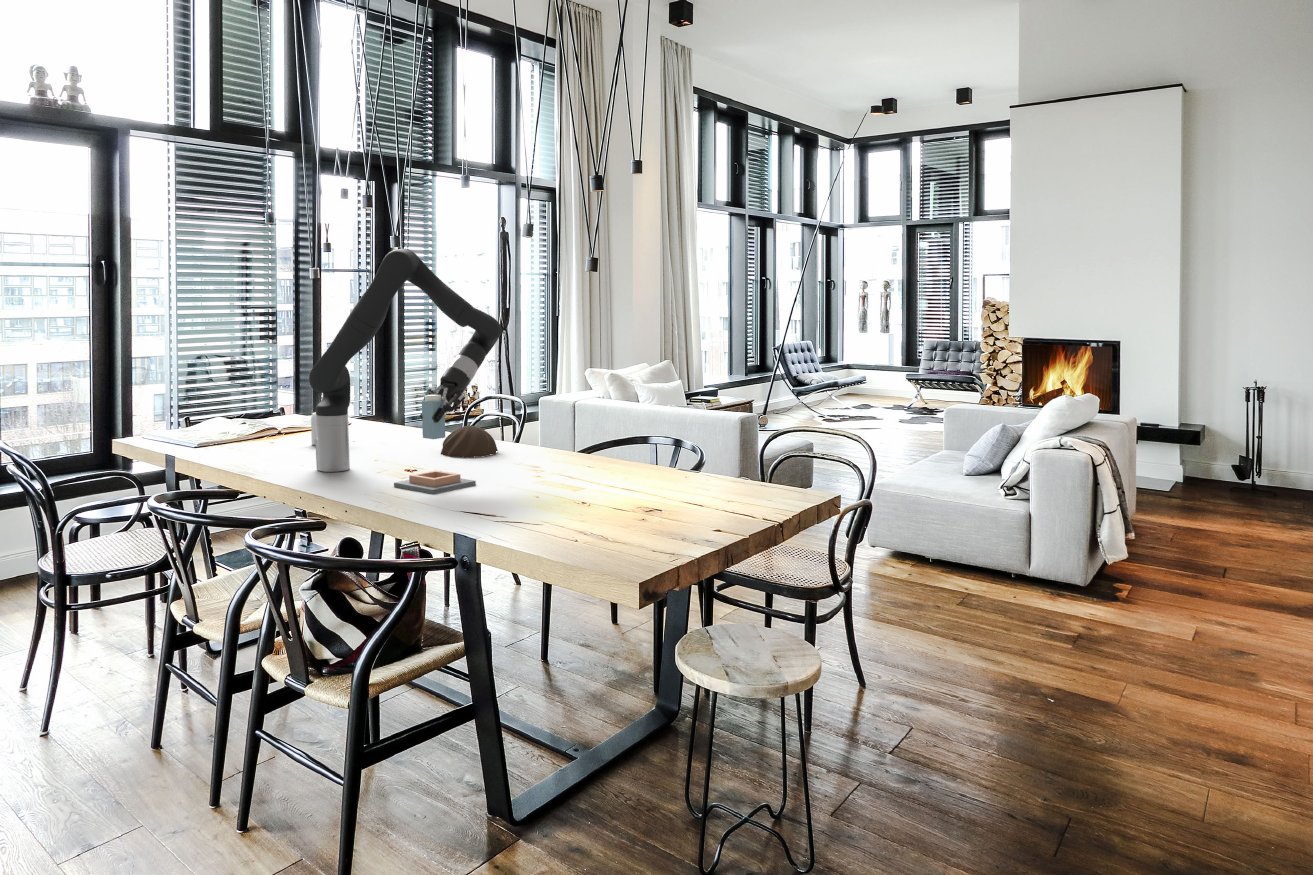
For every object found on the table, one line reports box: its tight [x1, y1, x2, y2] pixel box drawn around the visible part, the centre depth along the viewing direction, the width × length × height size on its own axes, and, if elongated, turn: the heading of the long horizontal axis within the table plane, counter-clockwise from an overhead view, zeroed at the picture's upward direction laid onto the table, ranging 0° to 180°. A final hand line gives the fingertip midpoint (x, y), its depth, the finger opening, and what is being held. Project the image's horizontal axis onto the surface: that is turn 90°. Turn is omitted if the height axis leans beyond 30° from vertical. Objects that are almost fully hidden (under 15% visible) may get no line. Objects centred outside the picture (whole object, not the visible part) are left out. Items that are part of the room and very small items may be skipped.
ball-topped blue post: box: [421, 394, 446, 440], centre depth 252 cm, size 4×4×12 cm
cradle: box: [393, 469, 477, 495], centre depth 255 cm, size 16×16×3 cm
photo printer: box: [310, 411, 317, 446], centre depth 326 cm, size 10×4×12 cm, turn 123°
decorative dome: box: [440, 424, 499, 459], centre depth 311 cm, size 19×20×10 cm
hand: (428, 419), depth 251 cm, fingers closed on ball-topped blue post, 4 cm apart
